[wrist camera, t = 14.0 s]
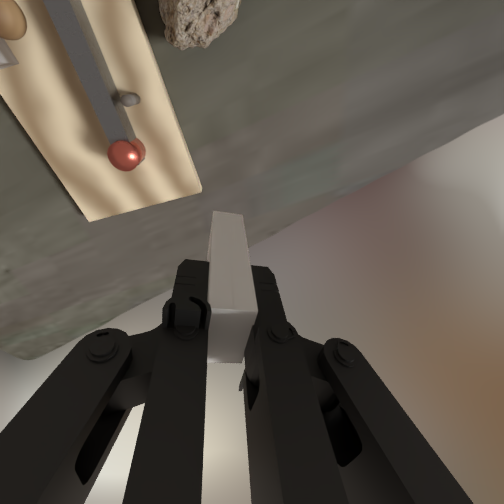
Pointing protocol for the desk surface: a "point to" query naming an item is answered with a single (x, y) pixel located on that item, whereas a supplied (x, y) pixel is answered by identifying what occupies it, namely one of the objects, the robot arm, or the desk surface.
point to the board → (82, 113)
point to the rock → (196, 20)
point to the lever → (97, 82)
